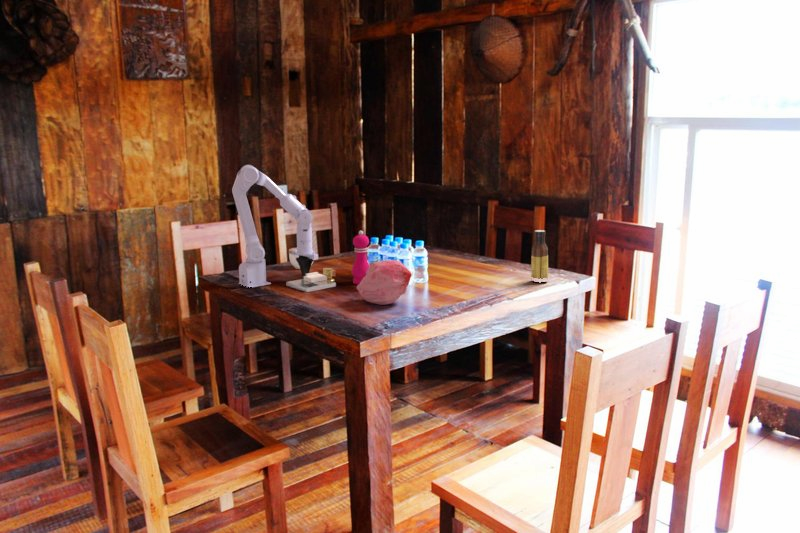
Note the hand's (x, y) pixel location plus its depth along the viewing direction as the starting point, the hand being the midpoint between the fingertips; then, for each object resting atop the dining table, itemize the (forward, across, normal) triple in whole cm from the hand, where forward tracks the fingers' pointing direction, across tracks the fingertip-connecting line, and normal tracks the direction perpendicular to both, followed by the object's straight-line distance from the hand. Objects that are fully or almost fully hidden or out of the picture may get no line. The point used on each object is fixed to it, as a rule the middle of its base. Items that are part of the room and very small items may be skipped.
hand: (305, 275), depth 261 cm
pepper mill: (+2, -16, -14) cm, 22 cm away
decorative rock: (+2, -44, -1) cm, 44 cm away
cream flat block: (+1, -7, 0) cm, 7 cm away
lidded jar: (+2, +22, -14) cm, 26 cm away
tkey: (+2, -5, -8) cm, 9 cm away
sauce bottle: (+2, -60, -66) cm, 89 cm away
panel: (+2, -8, +3) cm, 9 cm away
